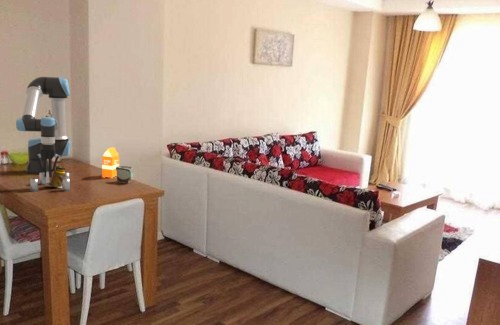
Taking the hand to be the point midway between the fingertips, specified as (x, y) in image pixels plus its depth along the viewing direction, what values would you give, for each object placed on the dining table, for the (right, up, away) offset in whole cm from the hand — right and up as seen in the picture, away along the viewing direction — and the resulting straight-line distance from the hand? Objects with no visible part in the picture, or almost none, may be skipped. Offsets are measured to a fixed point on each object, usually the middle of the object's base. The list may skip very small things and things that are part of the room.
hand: (48, 182), depth 255 cm
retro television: (+39, -1, +25) cm, 47 cm away
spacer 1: (-4, -4, -8) cm, 10 cm away
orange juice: (+25, +2, +37) cm, 45 cm away
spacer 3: (+6, -1, +11) cm, 13 cm away
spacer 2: (-6, -1, +7) cm, 10 cm away
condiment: (+3, -2, +1) cm, 4 cm away
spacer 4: (+12, -4, -3) cm, 13 cm away
